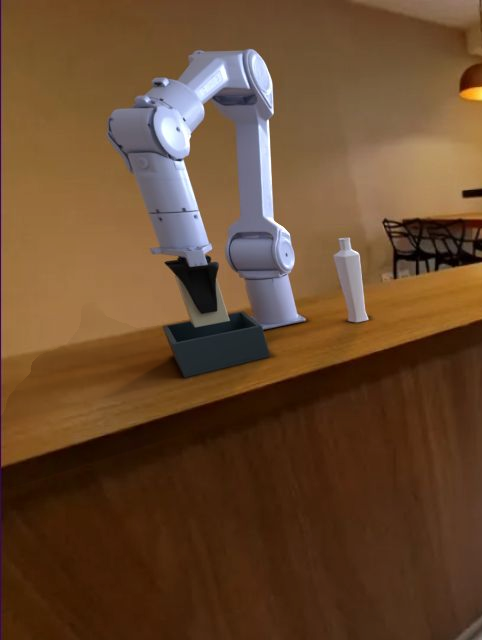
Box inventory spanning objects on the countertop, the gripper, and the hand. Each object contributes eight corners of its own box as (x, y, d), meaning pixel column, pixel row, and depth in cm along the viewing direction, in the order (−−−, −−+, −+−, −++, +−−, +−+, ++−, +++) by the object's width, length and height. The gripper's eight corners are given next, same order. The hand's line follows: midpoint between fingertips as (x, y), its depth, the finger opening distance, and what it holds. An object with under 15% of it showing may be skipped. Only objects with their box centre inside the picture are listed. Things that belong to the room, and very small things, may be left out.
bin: (173, 356, 69) (162, 325, 67) (251, 339, 76) (243, 311, 73) (184, 377, 61) (172, 344, 59) (270, 356, 68) (261, 325, 66)
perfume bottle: (364, 323, 82) (349, 240, 76) (342, 322, 83) (327, 240, 77) (375, 316, 86) (363, 237, 80) (355, 315, 87) (341, 236, 81)
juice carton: (190, 322, 66) (170, 264, 62) (224, 316, 69) (207, 260, 65) (194, 327, 63) (173, 267, 60) (229, 321, 66) (211, 263, 62)
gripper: (132, 211, 62) (167, 305, 68) (142, 216, 52) (181, 326, 58) (191, 208, 66) (219, 296, 72) (210, 212, 56) (241, 315, 62)
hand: (206, 309), depth 65 cm, fingers closed on juice carton, 3 cm apart
